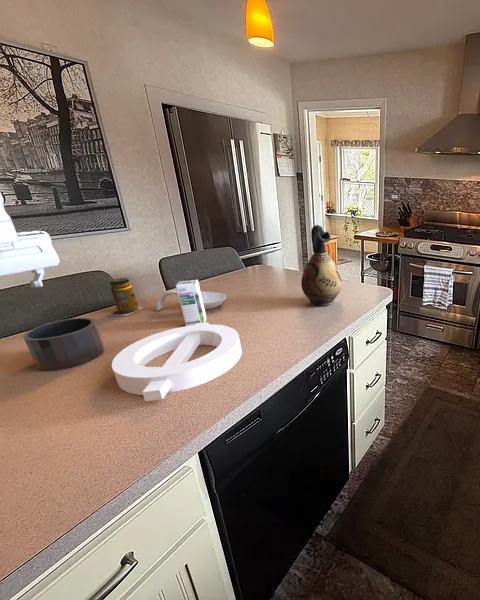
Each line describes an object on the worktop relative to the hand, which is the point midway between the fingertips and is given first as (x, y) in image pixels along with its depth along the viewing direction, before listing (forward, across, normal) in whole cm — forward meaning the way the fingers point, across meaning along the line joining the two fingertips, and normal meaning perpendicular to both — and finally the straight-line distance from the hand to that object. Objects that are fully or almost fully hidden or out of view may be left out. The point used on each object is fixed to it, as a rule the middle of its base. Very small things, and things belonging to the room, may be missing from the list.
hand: (11, 293), depth 77 cm
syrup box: (+20, -34, +13) cm, 42 cm away
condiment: (+21, -33, -20) cm, 44 cm away
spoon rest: (+21, -44, 0) cm, 49 cm away
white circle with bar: (+20, -14, +32) cm, 40 cm away
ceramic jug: (+20, -66, +43) cm, 81 cm away
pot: (+21, -6, 0) cm, 22 cm away
